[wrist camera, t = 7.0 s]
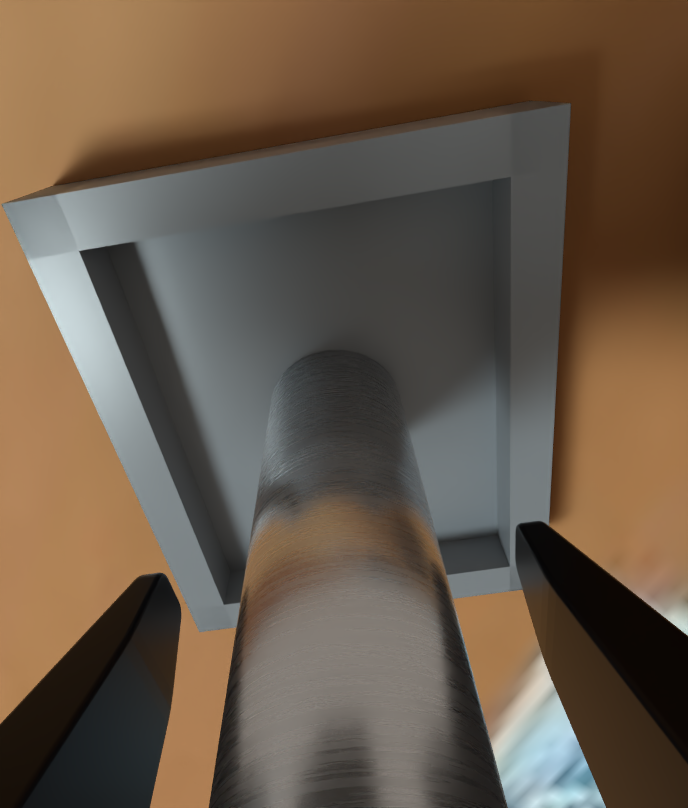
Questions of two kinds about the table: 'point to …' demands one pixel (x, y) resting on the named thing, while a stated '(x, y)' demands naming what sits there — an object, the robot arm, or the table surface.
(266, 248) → the tray
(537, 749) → the table surface
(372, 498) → the pin
